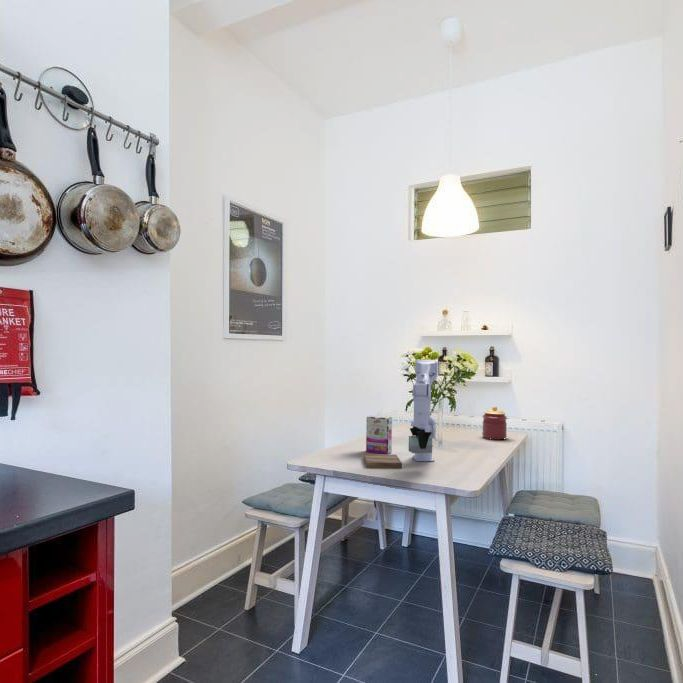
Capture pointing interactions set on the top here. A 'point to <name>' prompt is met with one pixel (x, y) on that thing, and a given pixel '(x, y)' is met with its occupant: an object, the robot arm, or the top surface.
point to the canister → (494, 424)
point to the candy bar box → (379, 434)
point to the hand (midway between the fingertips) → (420, 447)
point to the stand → (382, 461)
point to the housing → (415, 445)
